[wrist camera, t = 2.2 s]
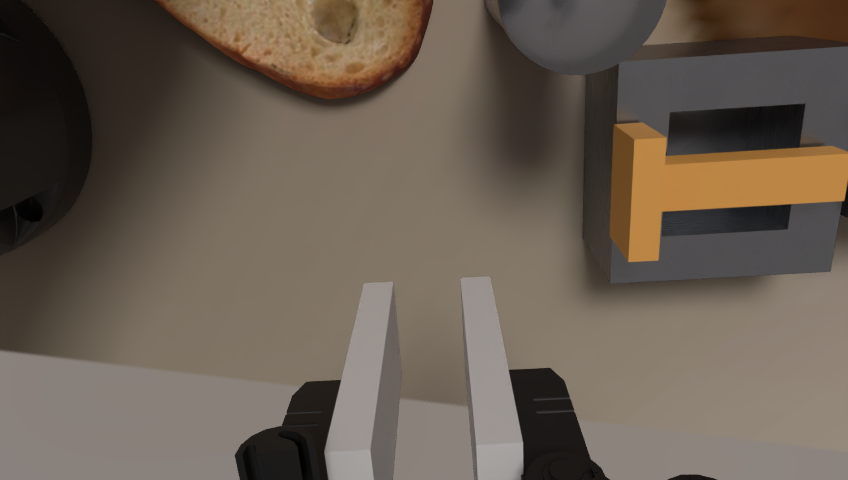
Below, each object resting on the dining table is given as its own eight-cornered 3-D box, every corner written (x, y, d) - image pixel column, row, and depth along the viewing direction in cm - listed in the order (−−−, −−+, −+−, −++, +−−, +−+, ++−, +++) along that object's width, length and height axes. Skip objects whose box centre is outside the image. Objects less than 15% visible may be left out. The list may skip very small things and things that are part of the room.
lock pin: (609, 235, 29) (628, 262, 26) (613, 124, 27) (634, 139, 24) (819, 223, 29) (862, 249, 26) (838, 110, 27) (885, 123, 24)
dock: (582, 237, 36) (616, 294, 29) (586, 49, 32) (626, 64, 26) (984, 214, 35) (1113, 267, 28) (1034, 18, 31) (1195, 26, 25)
